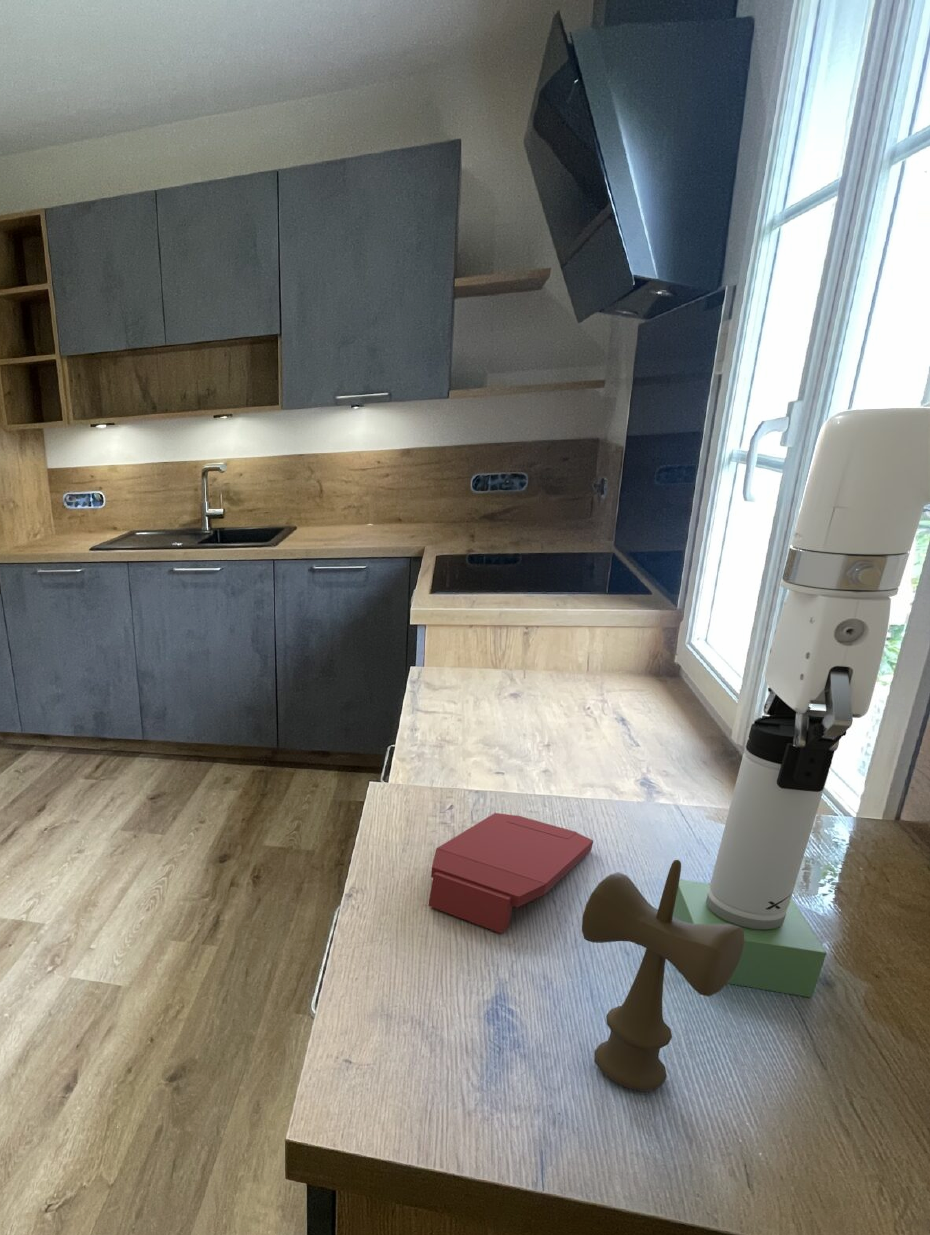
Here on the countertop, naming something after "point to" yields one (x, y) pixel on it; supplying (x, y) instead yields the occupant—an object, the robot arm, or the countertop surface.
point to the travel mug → (762, 833)
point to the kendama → (653, 971)
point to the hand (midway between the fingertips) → (785, 771)
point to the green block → (763, 946)
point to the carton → (501, 867)
